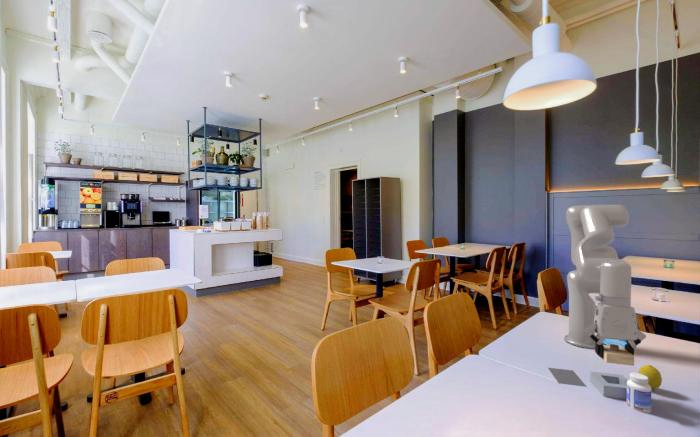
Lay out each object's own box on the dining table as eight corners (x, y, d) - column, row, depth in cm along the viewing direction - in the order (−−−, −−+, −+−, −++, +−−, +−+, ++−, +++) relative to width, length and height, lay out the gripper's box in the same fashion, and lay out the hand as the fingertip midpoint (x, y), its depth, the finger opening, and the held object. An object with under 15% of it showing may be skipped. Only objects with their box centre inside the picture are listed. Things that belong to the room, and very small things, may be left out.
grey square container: (590, 383, 108) (590, 371, 108) (622, 387, 106) (622, 374, 106) (603, 398, 100) (603, 385, 99) (638, 402, 97) (638, 389, 97)
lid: (595, 353, 106) (596, 340, 106) (621, 355, 105) (621, 342, 105) (606, 362, 100) (606, 348, 100) (633, 365, 98) (634, 351, 98)
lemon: (665, 395, 101) (665, 370, 101) (643, 392, 103) (643, 367, 103) (655, 386, 106) (656, 362, 106) (634, 383, 108) (635, 359, 108)
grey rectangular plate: (547, 369, 118) (547, 367, 118) (573, 372, 116) (573, 370, 116) (558, 385, 107) (558, 383, 107) (586, 388, 105) (586, 386, 105)
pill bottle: (656, 412, 92) (656, 379, 92) (642, 416, 91) (643, 382, 91) (634, 401, 98) (635, 370, 97) (621, 405, 96) (622, 372, 96)
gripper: (588, 302, 101) (587, 359, 101) (656, 306, 96) (655, 366, 96) (578, 296, 108) (577, 349, 108) (640, 300, 103) (639, 355, 104)
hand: (614, 357), depth 102 cm, fingers closed on lid, 7 cm apart
